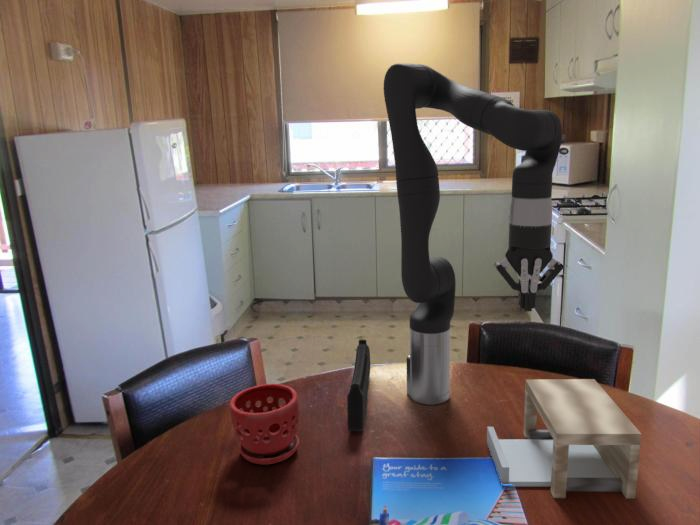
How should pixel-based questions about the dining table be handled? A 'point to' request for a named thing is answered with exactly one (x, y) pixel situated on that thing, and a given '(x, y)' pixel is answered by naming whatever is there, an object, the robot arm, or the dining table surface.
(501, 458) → the slab
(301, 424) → the dining table surface
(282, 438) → the plant pot
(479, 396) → the dining table surface
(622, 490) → the small table
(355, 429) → the magazine
